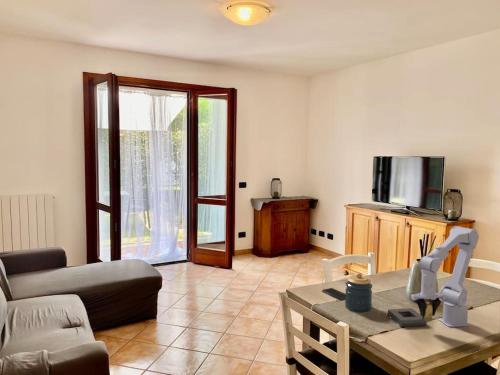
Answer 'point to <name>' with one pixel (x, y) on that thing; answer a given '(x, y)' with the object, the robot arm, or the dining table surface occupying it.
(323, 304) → the dining table surface
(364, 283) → the canister
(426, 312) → the piston
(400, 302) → the dining table surface
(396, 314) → the grey square socket block
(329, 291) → the phone
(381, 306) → the dining table surface
